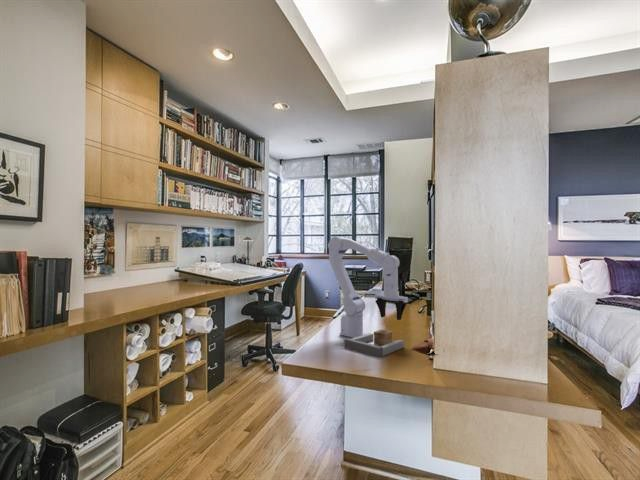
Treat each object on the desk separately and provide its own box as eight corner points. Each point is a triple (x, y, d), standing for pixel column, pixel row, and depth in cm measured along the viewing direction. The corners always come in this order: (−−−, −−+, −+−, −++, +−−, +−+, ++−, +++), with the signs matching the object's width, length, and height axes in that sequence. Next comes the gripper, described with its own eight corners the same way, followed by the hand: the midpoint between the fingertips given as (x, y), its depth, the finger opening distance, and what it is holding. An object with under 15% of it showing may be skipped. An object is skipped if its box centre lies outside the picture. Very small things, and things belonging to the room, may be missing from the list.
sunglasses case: (432, 340, 130) (440, 327, 128) (447, 352, 126) (455, 339, 124) (409, 349, 118) (417, 335, 116) (424, 363, 114) (433, 349, 111)
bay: (344, 347, 121) (344, 339, 121) (369, 339, 132) (369, 331, 132) (379, 357, 109) (379, 348, 110) (403, 347, 121) (403, 339, 121)
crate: (373, 344, 125) (373, 331, 125) (381, 341, 129) (381, 329, 129) (384, 347, 121) (384, 334, 122) (392, 344, 125) (392, 331, 125)
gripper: (370, 284, 132) (370, 316, 132) (401, 287, 122) (401, 322, 121) (380, 283, 137) (380, 314, 137) (410, 285, 127) (410, 319, 126)
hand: (390, 318), depth 129 cm, fingers open, 7 cm apart
